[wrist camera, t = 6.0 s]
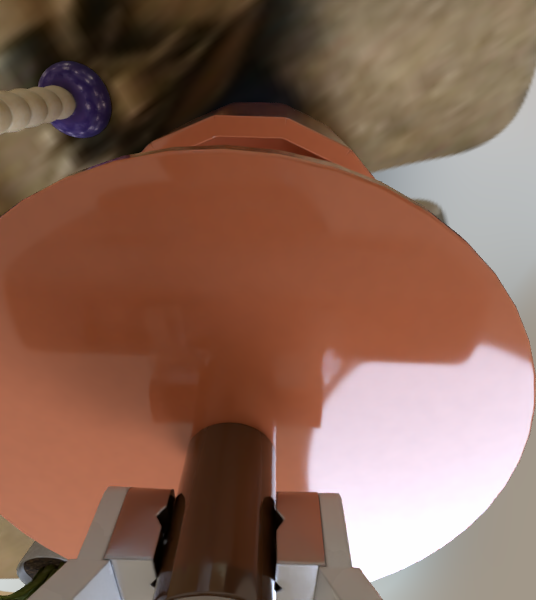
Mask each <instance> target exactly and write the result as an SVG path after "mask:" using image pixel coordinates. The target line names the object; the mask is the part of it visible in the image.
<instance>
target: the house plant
mask: <svg viewBox="0 0 536 600" xmlns="http://www.w3.org/2000/svg"><path fill="white" fill-rule="evenodd" d="M67 561H68V559H66V558H64V557H62V556H60V555H58V554H57V553H55V552H53V551H51V550H49V549H47V548H46V547H44V546H43V545H41V544H40V543H38V542H36V541H35V542H34V543H33V544H32V546H31V547H30V549H29V550H28V551H27V553H26V554H25V556H24V557H23V558H22V560H21V561H20V563H19V564H18V567H17V575H18V577H19V578H20V580H21V581H22V582H23V583H24V584H25V586H24V587H23V588H21V589H20V590H18V591H16V592H15V593H13V594H11V595H8V596H0V597H1V598H0V600H27V599H28V598H29V597H30V596H31V595H32V594H33V593H34V592H35V591H36V590H38V589H39V588H40V587H41V586H42V585H43V584H44V583H45V582H46V581H47V580H48V579H49V578H50V577H51V576H52V575H53V574H55V573H56V572H57V571H58V570H59V569H60V568H61V567H62V566H63V565H64V564H65V563H66V562H67Z"/></svg>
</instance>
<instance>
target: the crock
mask: <svg viewBox="0 0 536 600" xmlns="http://www.w3.org/2000/svg"><path fill="white" fill-rule="evenodd" d="M208 145H235V146H245V147H255V148H265V149H275V150H283V151H287V152H291V153H295V154H299V155H303V156H308V157H312V158H316V159H320V160H324V161H328V162H332V163H335V164H338V165H340V166H343V167H345V168H348V169H350V170H353V171H355V172H358V173H360V174H363V175H365V176H368V177H371V178H373V179H375V178H374V177H373V175H372V174H371V173H370V172H369V171H368V169H367V168H366V167H365V166H364V164H363V163H362V162H361V161H360V159H359V158H358V157H357V156H356V154H355V153H354V152H353V151H352V150H351V149H350V148H349V147H348V146H347V145H346V144H345V143H344V142H343V141H342V140H341V139H340V138H339V137H338V136H337V135H336V134H335V133H334V132H333V131H332V130H331V129H330V128H329V127H328V126H326V125H325V124H324V123H322V122H320V121H318V120H315V119H313V118H311V117H309V116H308V115H306V114H304V113H302V112H299V111H297V110H295V109H293V108H291V107H289V106H287V105H285V104H282V103H262V102H235V103H231V104H229V105H226V106H224V107H222V108H219V109H217V110H215V111H212V112H210V113H208V114H206V115H203V116H201V117H199V118H196V119H194V120H192V121H190V122H188V123H186V124H184V125H182V126H180V127H179V128H177V129H175V130H173V131H171V132H169V133H167V134H165V135H163V136H161V137H159V138H158V139H156V140H154V141H152V142H151V143H150V144H148V145H147V146H146V147H145V148H144V150H143V151H142V152H141V153H143V152H148V151H154V150H159V149H165V148H170V147H183V146H208Z"/></svg>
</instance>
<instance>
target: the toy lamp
mask: <svg viewBox="0 0 536 600" xmlns="http://www.w3.org/2000/svg"><path fill="white" fill-rule="evenodd" d="M111 111H112V109H111V101H110V96H109V93H108V91H107V88H106V86H105V85H104V83H103V81H102V80H101V78H100V77H99V76H98V75H97V74H96V73H95V72H94V71H93V70H92V69H90V68H88V67H87V66H85V65H83V64H80V63H77V62H74V61H61V62H58V63H55V64H53V65H51V66H50V67H49V68H48V69H46V70H45V72H44V73H43V74H42V76H41V78H40V80H39V83H38V87H32V88H30V89H22V88H19V89H13V90H10V91H0V135H1V134H3V133H4V132H17V131H20V130H22V129H24V128H25V127H27V128H29V127H36V126H38V125H40V124H42V123H51V124H52V125H53V126H54V127H55V128H56V129H58V130H59V131H61V132H63V133H65V134H67V135H69V136H72V137H77V138H88V137H93V136H95V135H97V134H99V133H100V132H101V131H103V130H104V129H105V127H106V126H107V124H108V122H109V120H110V117H111Z"/></svg>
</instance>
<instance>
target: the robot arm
mask: <svg viewBox="0 0 536 600" xmlns="http://www.w3.org/2000/svg"><path fill="white" fill-rule="evenodd" d="M175 498H176V497H175V492H174V489H162V488H139V487H118V486H109V487H108V488H107V490H106V491H105V492H104V494H103V496H102V499H101V501H100V504H99V506H98V508H97V511H96V513H95V516H94V518H93V521H92V523H91V525H90V528H89V530H88V533H87V535H86V538H85V540H84V543H83V545H82V547H81V550H80V552H79V555H78V557H77V559H69V560H68V561H67V562H66V563H65V564H64V565H63V566H62V567H61V568H60V569H59V570H58V571H57V572H56V573H55V574H53V575H52V576H51V577H50V578H49V579H48V580H47V581H46V582H45V583H44V584H43V585H42V586H41V587H40V588H39V589H38V590H36V591H35V592H34V593H33V594H32V595H31V596H30V597H29V598H28V599H27V600H152V597H153V593H154V589H155V584H156V580H157V576H158V571H159V567H160V563H161V559H162V554H163V550H164V546H165V541H166V537H167V533H168V529H169V524H170V520H171V516H172V511H173V507H174V503H175ZM275 529H276V542H275V582H276V600H383V599H382V598H381V596H380V595H379V594H378V592H377V591H376V590H375V588H374V587H373V586H372V584H371V583H370V582H369V580H368V579H367V578H366V576H365V575H364V574H363V572H362V571H361V569H360V568H355V567H352V561H351V554H350V548H349V542H348V535H347V529H346V523H345V517H344V510H343V504H342V498H341V496H340V494H339V493H317V492H276V497H275Z"/></svg>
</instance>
